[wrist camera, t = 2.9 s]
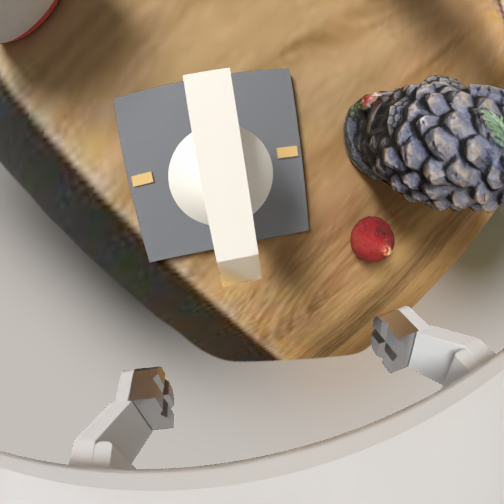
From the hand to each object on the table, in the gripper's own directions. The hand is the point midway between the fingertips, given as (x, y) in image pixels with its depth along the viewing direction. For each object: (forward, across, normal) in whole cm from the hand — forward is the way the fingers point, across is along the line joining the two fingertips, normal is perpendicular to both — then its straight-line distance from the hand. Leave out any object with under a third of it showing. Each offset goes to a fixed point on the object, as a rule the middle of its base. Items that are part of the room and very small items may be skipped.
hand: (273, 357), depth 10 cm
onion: (+27, -18, +7) cm, 33 cm away
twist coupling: (+17, 0, -5) cm, 18 cm away
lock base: (+27, 0, -5) cm, 27 cm away
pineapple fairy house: (+27, -25, -6) cm, 37 cm away
